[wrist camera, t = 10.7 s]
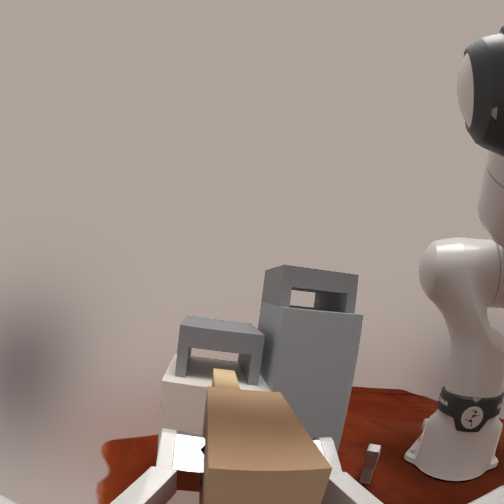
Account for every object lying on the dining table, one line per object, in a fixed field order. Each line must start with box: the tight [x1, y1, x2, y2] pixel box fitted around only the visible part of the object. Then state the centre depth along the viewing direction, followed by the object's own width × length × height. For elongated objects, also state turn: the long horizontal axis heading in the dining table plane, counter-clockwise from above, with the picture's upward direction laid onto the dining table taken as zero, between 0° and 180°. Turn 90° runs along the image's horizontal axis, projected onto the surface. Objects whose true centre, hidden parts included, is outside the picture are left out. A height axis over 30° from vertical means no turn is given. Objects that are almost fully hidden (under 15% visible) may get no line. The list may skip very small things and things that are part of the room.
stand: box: [158, 265, 363, 504], centre depth 32 cm, size 12×18×30 cm, turn 98°
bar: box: [199, 368, 332, 504], centre depth 14 cm, size 17×3×4 cm, turn 8°
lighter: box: [359, 444, 381, 484], centre depth 35 cm, size 7×2×8 cm, turn 150°
